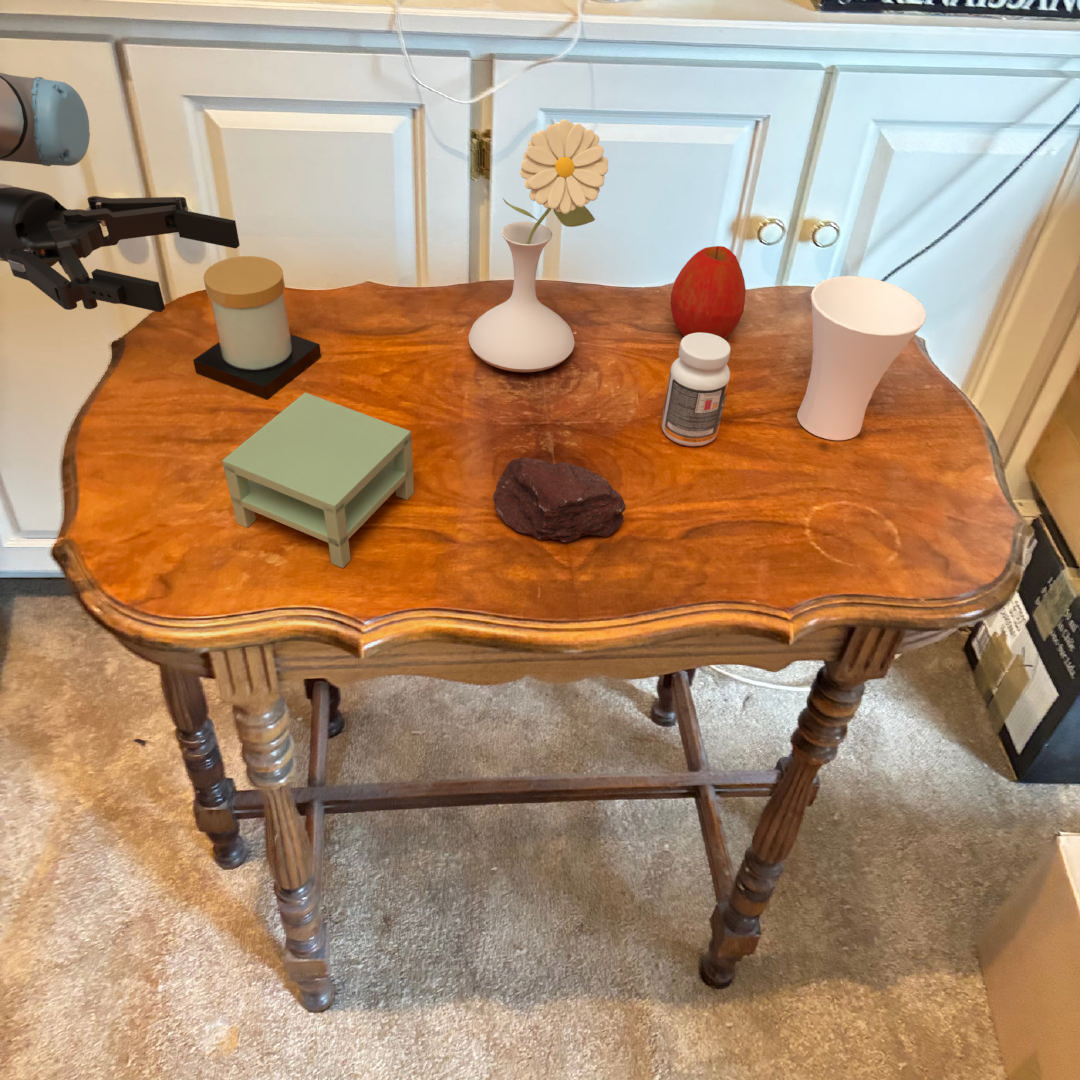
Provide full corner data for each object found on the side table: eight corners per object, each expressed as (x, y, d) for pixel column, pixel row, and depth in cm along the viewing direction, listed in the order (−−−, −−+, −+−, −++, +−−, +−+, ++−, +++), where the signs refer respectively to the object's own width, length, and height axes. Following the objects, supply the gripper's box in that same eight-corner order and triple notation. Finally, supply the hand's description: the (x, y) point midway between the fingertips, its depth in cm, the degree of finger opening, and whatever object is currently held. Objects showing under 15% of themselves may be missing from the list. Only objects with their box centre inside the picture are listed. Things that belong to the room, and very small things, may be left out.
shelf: (236, 523, 80) (221, 460, 75) (314, 453, 88) (305, 391, 83) (342, 568, 77) (334, 506, 72) (414, 492, 84) (411, 430, 80)
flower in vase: (455, 371, 98) (453, 129, 81) (484, 317, 106) (488, 86, 89) (576, 393, 97) (601, 151, 79) (596, 337, 105) (623, 105, 88)
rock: (613, 560, 83) (596, 493, 88) (640, 514, 79) (621, 446, 84) (497, 550, 80) (486, 481, 85) (519, 501, 75) (506, 432, 80)
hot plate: (195, 373, 96) (192, 358, 94) (253, 332, 102) (250, 318, 100) (266, 400, 93) (264, 384, 92) (321, 356, 99) (319, 342, 98)
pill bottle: (727, 442, 92) (748, 356, 85) (676, 453, 91) (693, 367, 84) (700, 409, 96) (718, 324, 89) (650, 419, 94) (664, 334, 87)
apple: (690, 307, 111) (706, 220, 103) (751, 333, 107) (772, 246, 100) (651, 334, 106) (665, 245, 98) (713, 362, 102) (733, 272, 95)
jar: (204, 356, 95) (186, 280, 89) (251, 323, 100) (238, 249, 94) (263, 378, 93) (249, 301, 87) (308, 343, 98) (298, 268, 92)
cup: (902, 437, 94) (951, 319, 85) (823, 464, 91) (864, 344, 81) (833, 382, 101) (871, 267, 92) (756, 405, 97) (788, 287, 88)
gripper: (97, 210, 106) (268, 245, 102) (-66, 318, 88) (133, 364, 85) (79, 143, 101) (257, 177, 97) (-99, 243, 83) (111, 289, 80)
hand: (200, 264), depth 91 cm, fingers open, 13 cm apart
